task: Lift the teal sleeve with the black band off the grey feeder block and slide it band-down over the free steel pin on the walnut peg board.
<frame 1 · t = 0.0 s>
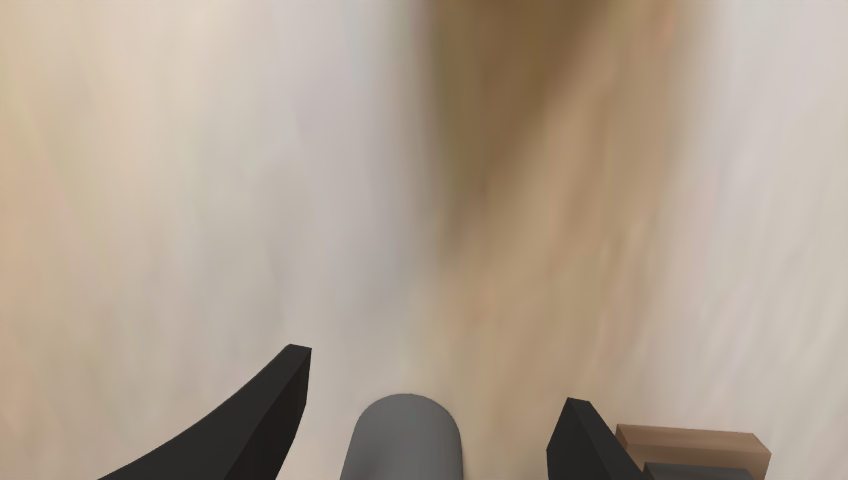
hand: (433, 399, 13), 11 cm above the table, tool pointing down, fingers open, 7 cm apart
bottle: (407, 437, 26), on the table
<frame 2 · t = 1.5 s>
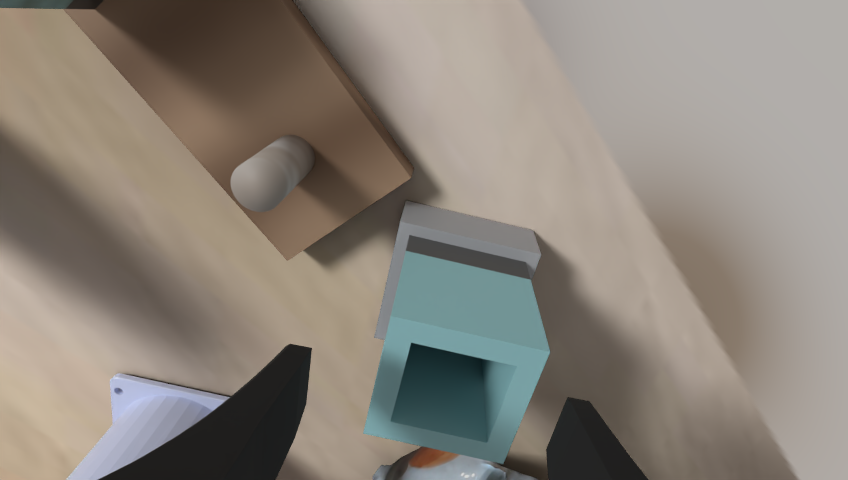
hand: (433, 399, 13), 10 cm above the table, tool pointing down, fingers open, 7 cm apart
peg board: (215, 37, 20), on the table
sleeve: (453, 298, 21), point 2 cm above the table, touching feeder block
feeder block: (453, 271, 24), on the table
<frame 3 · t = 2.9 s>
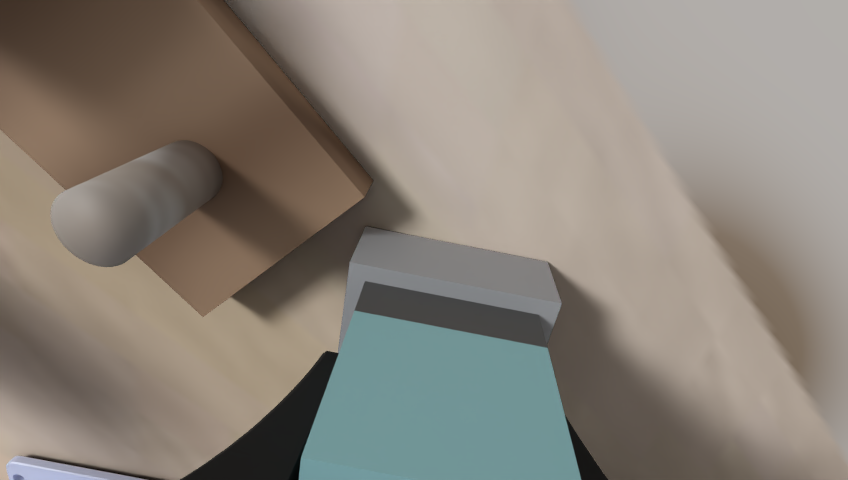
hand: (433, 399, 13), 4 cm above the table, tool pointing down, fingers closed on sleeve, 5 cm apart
peg board: (69, 1, 13), on the table
sleeve: (435, 366, 15), point 3 cm above the table, touching feeder block, gripper
feeder block: (439, 319, 17), on the table
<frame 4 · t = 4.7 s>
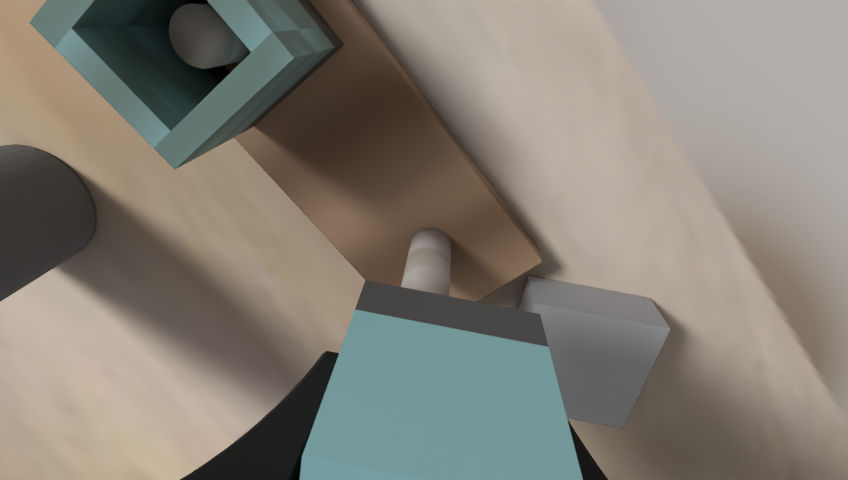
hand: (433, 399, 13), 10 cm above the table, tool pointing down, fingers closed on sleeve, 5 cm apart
bottle: (41, 201, 24), on the table
peg board: (355, 139, 21), on the table
sleeve: (436, 365, 15), point 9 cm above the table, touching gripper
feeder block: (570, 337, 25), on the table
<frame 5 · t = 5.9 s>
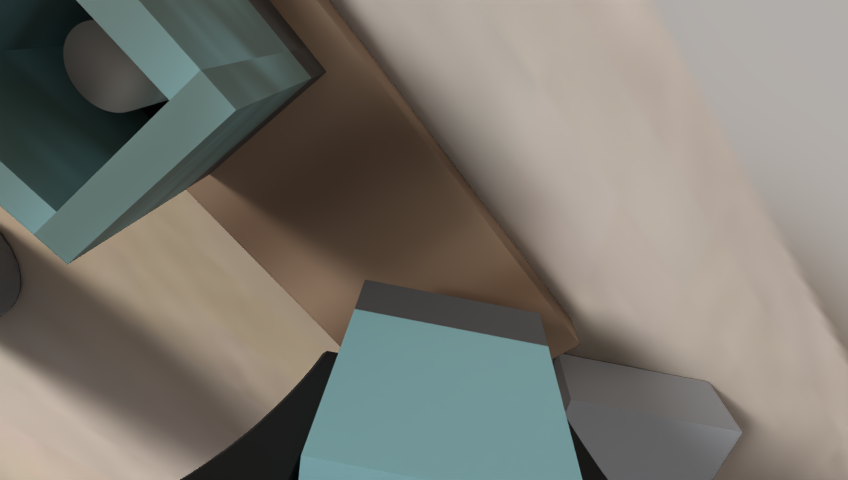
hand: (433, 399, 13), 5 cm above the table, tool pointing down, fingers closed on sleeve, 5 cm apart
peg board: (343, 187, 17), on the table
sleeve: (435, 365, 15), point 4 cm above the table, touching gripper
feeder block: (607, 423, 20), on the table
when the fingers open (4 cm above the table, at t = 6.7 s): sleeve stays where it is, resting on peg board.
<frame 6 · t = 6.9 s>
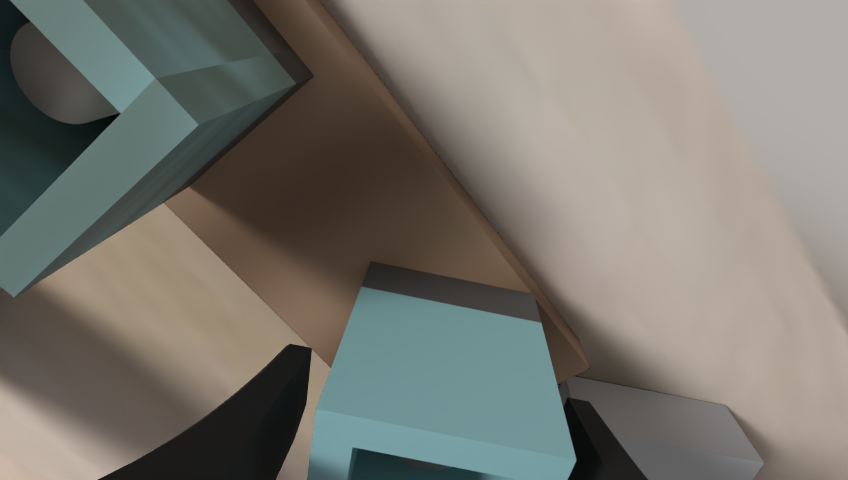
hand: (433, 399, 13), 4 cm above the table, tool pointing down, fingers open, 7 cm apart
peg board: (334, 199, 15), on the table
sleeve: (436, 343, 16), point 1 cm above the table, touching peg board
feeder block: (616, 448, 19), on the table
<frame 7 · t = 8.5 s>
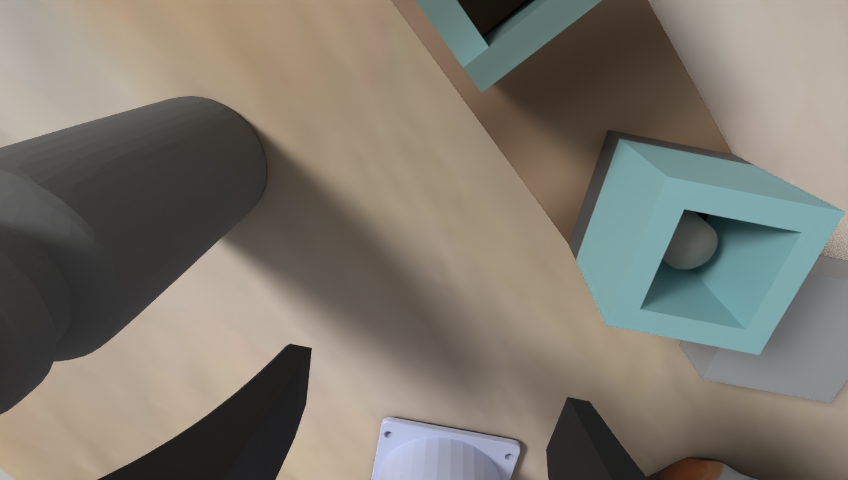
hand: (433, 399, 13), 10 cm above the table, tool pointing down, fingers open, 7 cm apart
bottle: (207, 159, 22), on the table
peg board: (568, 87, 20), on the table
sleeve: (647, 201, 20), point 1 cm above the table, touching peg board
feeder block: (766, 306, 23), on the table
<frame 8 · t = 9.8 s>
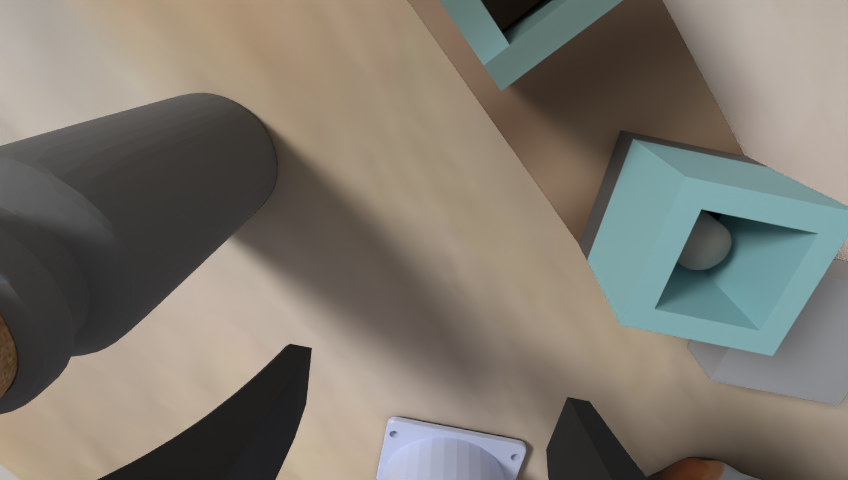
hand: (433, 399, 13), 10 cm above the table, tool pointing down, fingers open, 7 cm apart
bottle: (217, 157, 22), on the table
peg board: (581, 87, 20), on the table
sleeve: (658, 202, 20), point 1 cm above the table, touching peg board
feeder block: (774, 308, 23), on the table
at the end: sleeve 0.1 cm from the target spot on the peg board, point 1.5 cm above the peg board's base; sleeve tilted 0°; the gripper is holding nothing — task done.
